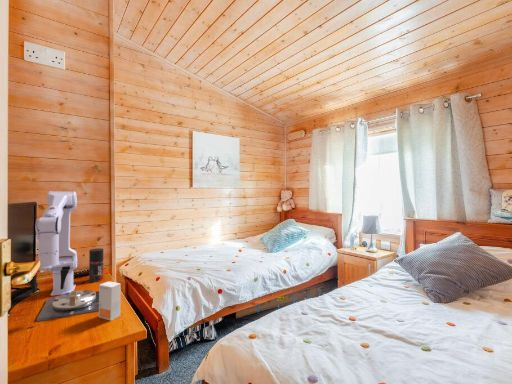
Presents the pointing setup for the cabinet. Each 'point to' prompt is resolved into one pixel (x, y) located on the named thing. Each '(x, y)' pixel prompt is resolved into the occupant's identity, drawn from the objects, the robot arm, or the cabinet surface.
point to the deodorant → (96, 265)
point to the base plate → (52, 313)
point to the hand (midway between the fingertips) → (48, 290)
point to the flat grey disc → (74, 300)
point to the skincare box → (109, 300)
